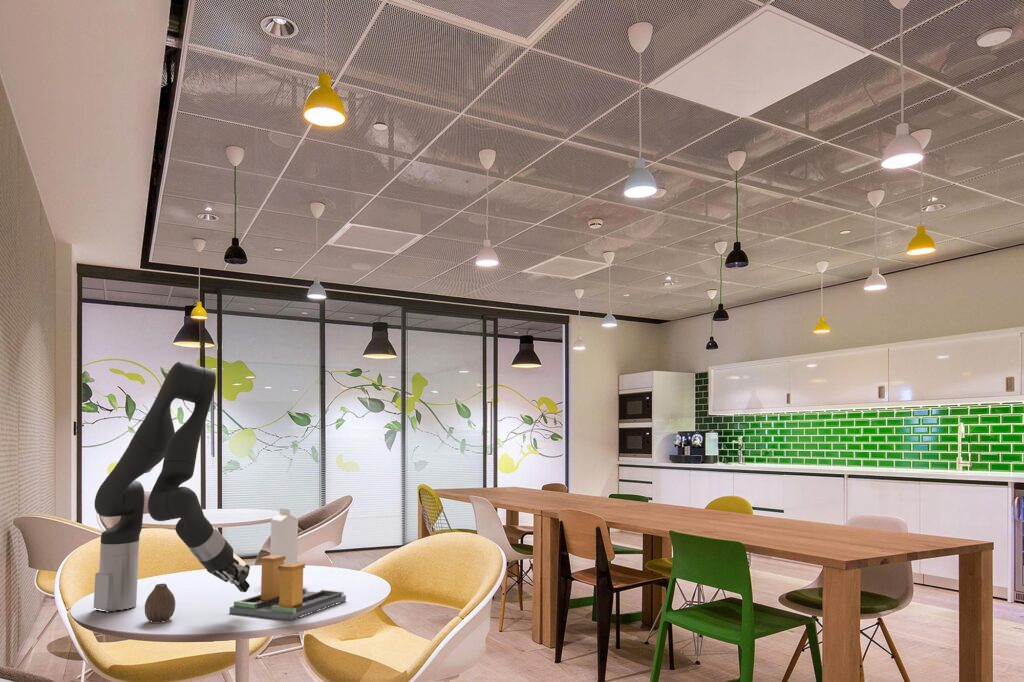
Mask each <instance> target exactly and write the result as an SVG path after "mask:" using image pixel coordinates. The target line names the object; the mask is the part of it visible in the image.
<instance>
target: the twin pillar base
mask: <svg viewBox="0 0 1024 682" xmlns="http://www.w3.org/2000/svg"><path fill="white" fill-rule="evenodd" d="M305 568H306V563H299V562H297V563H288V564H284V565H280V566H278V570H280V595H279V596H278V597H275V598H271V599H268V600H261V594H258V595H255V596H251V597H248V598H245V599H242V600H235V601H233V605H232V606H229V612H228V613H229V614H232V613H233V614H234V615H239V616H241V615H242V616H250V617H257V618H265V619H273V620H280V621H287V622H288V621H291V622H292V621H294V619H295V620H297V619H299V618H298V617H300V616H302V615H305V614H308V613H311V612H314V611H317V610H319V609H323V608H325V607H328V606H331V605H333V604H336V603H339V602H342V601H345V600H347V595H345V591H343V590H342V591H341V590H334V589H333V590H331V589H321V590H320V591H319V590H318V591H317V592H316V591H308V588H307V587H304V569H305ZM345 602H346V601H345ZM342 603H343V602H342ZM339 604H340V603H339ZM336 605H337V604H336ZM331 607H332V606H331ZM328 608H329V607H328ZM325 609H326V608H325ZM323 610H324V609H323ZM317 612H318V611H317ZM314 613H315V612H314ZM311 614H312V613H311ZM296 618H297V619H296ZM300 618H301V617H300Z"/></svg>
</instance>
